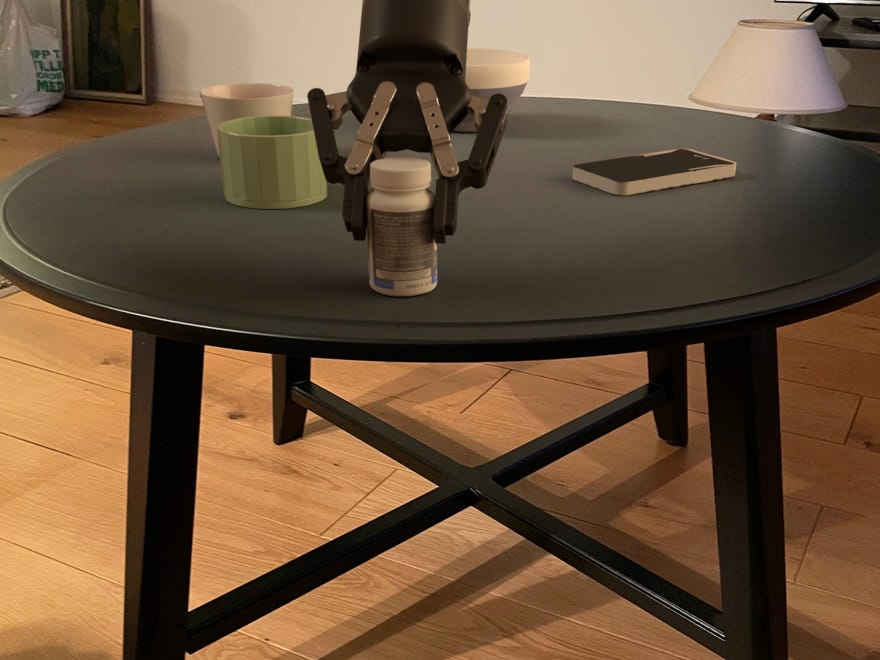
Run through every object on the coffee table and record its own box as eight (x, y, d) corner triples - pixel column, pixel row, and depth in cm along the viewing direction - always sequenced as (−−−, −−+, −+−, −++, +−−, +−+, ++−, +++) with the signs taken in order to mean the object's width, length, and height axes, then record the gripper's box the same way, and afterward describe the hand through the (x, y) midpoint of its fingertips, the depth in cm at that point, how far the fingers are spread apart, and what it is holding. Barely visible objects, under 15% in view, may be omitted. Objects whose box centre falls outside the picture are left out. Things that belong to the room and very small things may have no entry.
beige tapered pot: (196, 151, 105) (188, 86, 102) (279, 143, 109) (275, 80, 106) (222, 170, 99) (215, 101, 95) (311, 161, 102) (306, 94, 99)
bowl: (381, 131, 115) (380, 59, 112) (431, 109, 127) (431, 44, 124) (503, 143, 111) (505, 69, 107) (543, 120, 123) (546, 52, 119)
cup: (281, 215, 86) (275, 141, 83) (202, 198, 90) (194, 127, 87) (348, 192, 92) (345, 123, 89) (272, 177, 96) (267, 111, 93)
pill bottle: (450, 290, 70) (450, 166, 66) (388, 302, 68) (385, 174, 64) (416, 271, 74) (414, 151, 70) (357, 281, 72) (351, 159, 67)
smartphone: (569, 165, 98) (685, 147, 105) (568, 179, 98) (684, 161, 106) (621, 183, 92) (740, 163, 99) (620, 198, 93) (738, 177, 100)
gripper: (303, -24, 69) (278, 204, 64) (518, -19, 68) (508, 211, 63) (322, 50, 76) (301, 259, 71) (516, 55, 75) (507, 266, 71)
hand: (399, 235), depth 67 cm, fingers closed on pill bottle, 4 cm apart
